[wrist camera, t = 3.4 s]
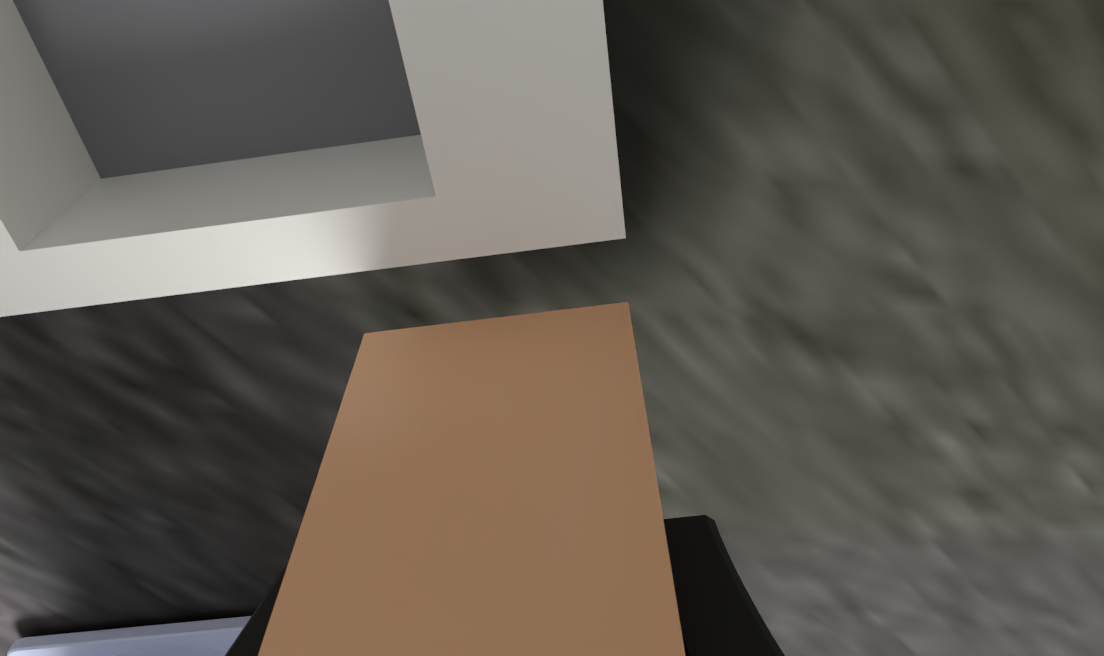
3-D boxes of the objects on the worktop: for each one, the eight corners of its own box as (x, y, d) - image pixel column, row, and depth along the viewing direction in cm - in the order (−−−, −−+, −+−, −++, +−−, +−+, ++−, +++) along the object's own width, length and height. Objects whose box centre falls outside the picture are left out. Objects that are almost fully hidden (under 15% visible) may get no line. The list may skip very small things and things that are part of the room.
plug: (646, 492, 14) (738, 1125, 7) (423, 515, 14) (319, 1144, 8) (627, 302, 12) (735, 961, 5) (364, 333, 12) (145, 999, 5)
